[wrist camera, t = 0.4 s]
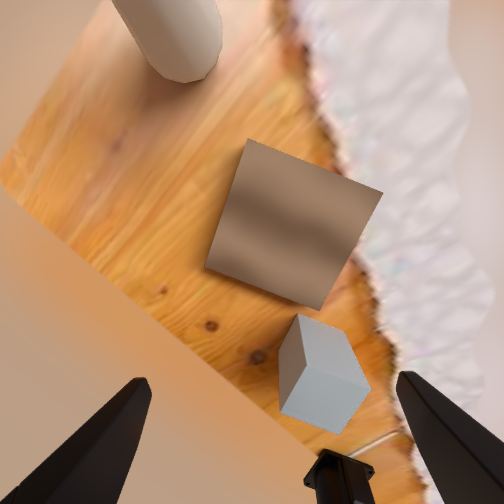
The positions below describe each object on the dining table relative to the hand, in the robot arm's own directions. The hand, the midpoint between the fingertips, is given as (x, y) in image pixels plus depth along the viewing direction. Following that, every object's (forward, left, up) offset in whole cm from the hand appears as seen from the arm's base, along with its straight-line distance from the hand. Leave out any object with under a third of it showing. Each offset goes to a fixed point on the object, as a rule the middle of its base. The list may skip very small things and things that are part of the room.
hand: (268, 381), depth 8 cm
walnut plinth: (+3, 0, -14) cm, 15 cm away
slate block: (-7, -7, -14) cm, 17 cm away
